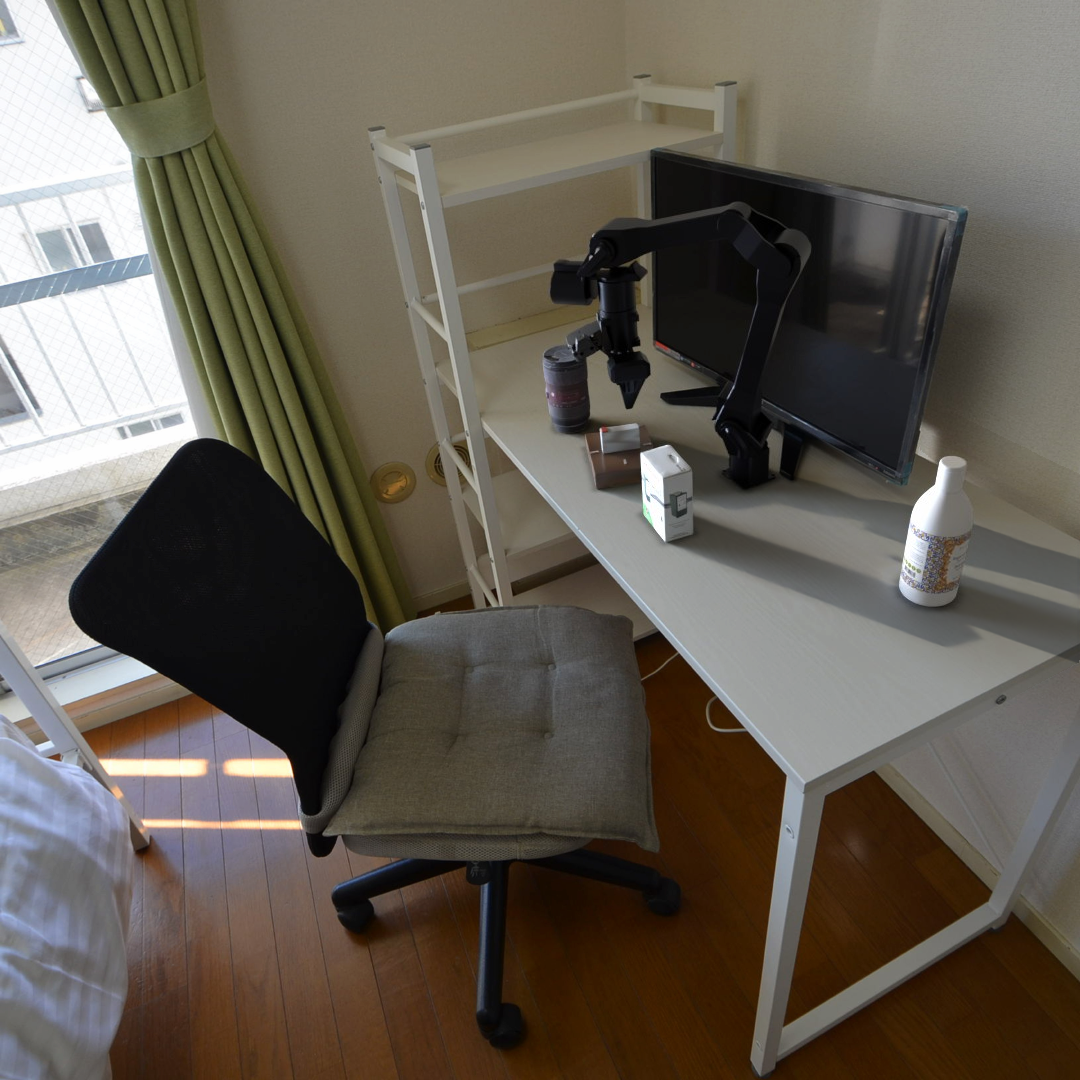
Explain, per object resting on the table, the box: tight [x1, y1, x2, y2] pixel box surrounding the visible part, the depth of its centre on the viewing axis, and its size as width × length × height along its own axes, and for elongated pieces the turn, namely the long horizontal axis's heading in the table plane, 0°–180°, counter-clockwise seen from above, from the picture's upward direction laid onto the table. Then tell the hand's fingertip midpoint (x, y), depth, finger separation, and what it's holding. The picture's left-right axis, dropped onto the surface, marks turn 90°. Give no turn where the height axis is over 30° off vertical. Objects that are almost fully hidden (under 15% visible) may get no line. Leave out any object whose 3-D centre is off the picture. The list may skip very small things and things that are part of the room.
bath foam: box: [898, 455, 974, 608], centre depth 100 cm, size 7×7×20 cm
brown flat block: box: [584, 424, 654, 490], centre depth 140 cm, size 14×11×3 cm
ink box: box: [641, 444, 694, 543], centre depth 122 cm, size 9×5×12 cm, turn 18°
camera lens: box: [542, 344, 591, 434], centre depth 150 cm, size 8×8×15 cm
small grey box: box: [599, 422, 640, 454], centre depth 138 cm, size 6×2×4 cm, turn 94°
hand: (624, 396), depth 135 cm, fingers open, 9 cm apart
